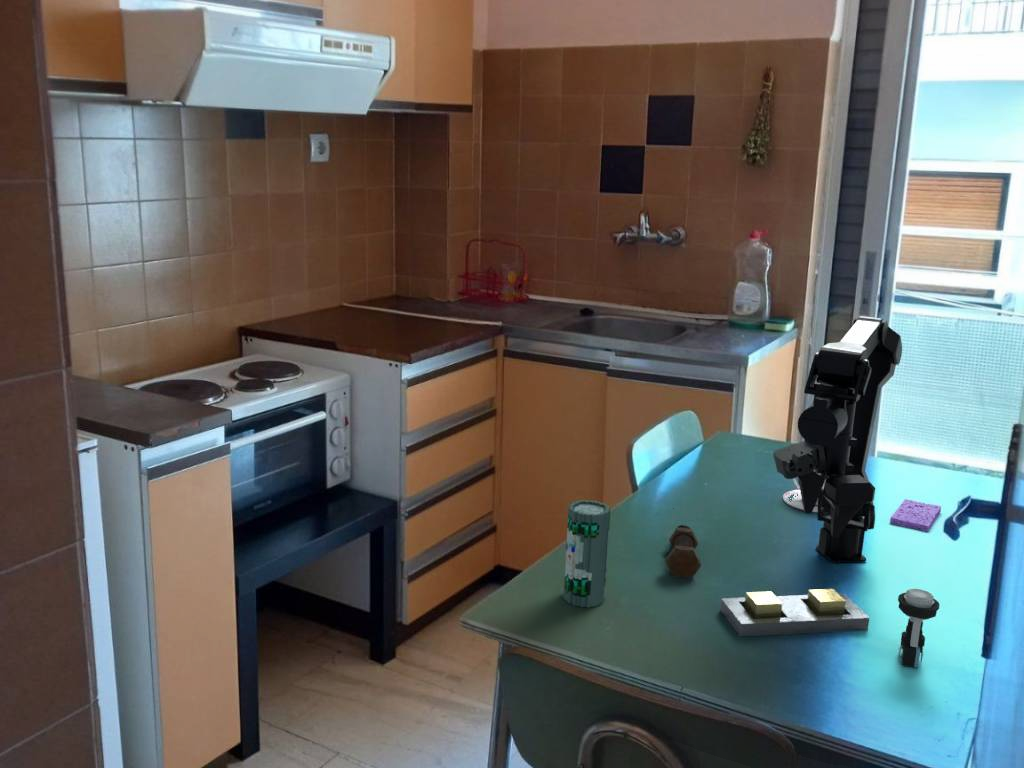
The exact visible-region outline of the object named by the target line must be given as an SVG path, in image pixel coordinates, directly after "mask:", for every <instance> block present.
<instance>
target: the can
mask: <svg viewBox="0 0 1024 768" xmlns="http://www.w3.org/2000/svg"><path fill="white" fill-rule="evenodd" d="M567 511H568V512H567V529H566V546H565V565H564V584H563V599H564V600H565V601H566V602H567V603H568V604H572V605H573V606H576V607H580V608H585V607H586V608H587V609H588V608H594V607H599V606H600V605H602V604H603V603H604V602H605V600H606V598H605V597H606V587H607V586H606V583H607V567H608V553H609V542H610V541H609V539H610V538H609V537H610V528H611V527H610V524H611V522H610V521H611V511H612V510H611V507H610V506H609V505H607V504H606V503H605V502H602V503H601V502H600V501H597V500H592V499H591V500H587V499H582V500H575V501H574V502H571V503H570V504H569V505H568V508H567Z"/></svg>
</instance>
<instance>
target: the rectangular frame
mask: <svg viewBox="0 0 1024 768" xmlns="http://www.w3.org/2000/svg"><path fill="white" fill-rule="evenodd" d="M838 594H839V595H840V596H841V597H842V598H843V599H844V600H845V601H846V603H845V610H844V615H831V616H816V615H815V614H814V613H813V612H812V611H811V610H810V609H809V607H808V606H807V600H808V594H800V595H799V594H798V595H796V594H795V595H779V596H778V595H775V596H776V597H777V598H778V599H779V600H780V602H781V603H782V611H781V618H766V619H752V617H751V616H750V615H749V614H748V613H747V611H746V610H745V609H744V608H745V598H746V597H728V598H727V597H726V598H721V601H720V610H719V611H720V612H721V613H722V615H723V616H724V617H725V619H727V621H728V622H729V625H731V626H732V627H733V629H734V630H735V631H736V633H737V635H738V636H739V637H755V636H757V637H758V636H759V637H760V636H775V635H778V636H779V635H796V634H798V635H799V634H817V633H832V632H833V633H839V632H853V631H856V632H857V631H868V630H869V625H870V617H869V616H868V615H867V614H866V613H865V612H864V611H863V610H862V609H861V608H860V607H858V605H857V604H855V602H853V600H851V599H850V598H849V597H848V596H847V595H846V594H845V593H838Z"/></svg>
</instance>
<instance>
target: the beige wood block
mask: <svg viewBox="0 0 1024 768" xmlns="http://www.w3.org/2000/svg"><path fill="white" fill-rule="evenodd" d="M776 596H777V595H776V594H774V593H773V592H772V591H771V590H770V591H768V590H767V591H752V592H751V591H749V592H748V591H746V592H745V597H744V598H745V608H744V609H745V610H746V611H747V613H748V614H749V615H750V616H751V617H752V619H766V618H781V611H782V603H781V602H780V600H779V599H778V598H777V597H776Z"/></svg>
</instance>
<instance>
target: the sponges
mask: <svg viewBox="0 0 1024 768" xmlns="http://www.w3.org/2000/svg"><path fill="white" fill-rule="evenodd" d="M941 511H942V506H941V505H937V504H931V503H926V502H921V501H919V502H918V501H915V500H911V499H907V498H904V500H903V501H902V502H901V504H900V505H899V506H898V508H896V509H895V511H894V512H893V514H892V515H891V516H890V519H889V522H890V524H892V525H896V526H900V527H905V528H909V529H914V530H918V531H922V532H929V531H930V529H931V527H932V526H933V525H934V523H935V522H936V520H937V518H938V517H939V515H940V514H941V513H940V512H941Z"/></svg>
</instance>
